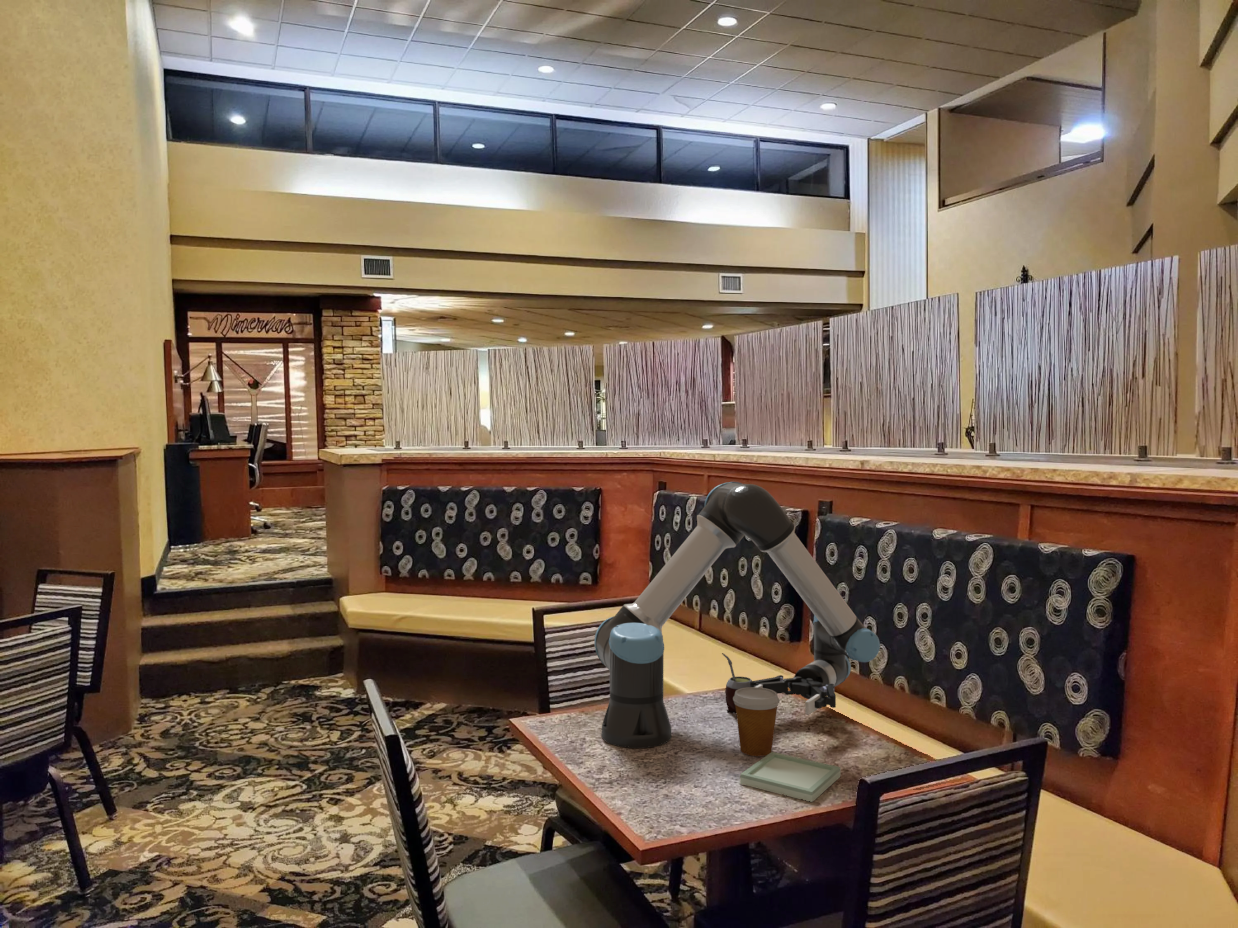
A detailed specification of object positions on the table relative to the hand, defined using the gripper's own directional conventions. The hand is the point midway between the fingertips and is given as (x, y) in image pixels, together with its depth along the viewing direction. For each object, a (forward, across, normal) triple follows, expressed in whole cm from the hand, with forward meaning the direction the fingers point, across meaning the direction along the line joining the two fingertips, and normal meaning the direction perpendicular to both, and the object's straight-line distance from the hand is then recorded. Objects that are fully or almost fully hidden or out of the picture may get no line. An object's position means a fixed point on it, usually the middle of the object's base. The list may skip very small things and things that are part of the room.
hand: (776, 702), depth 177 cm
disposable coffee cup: (+10, 0, -8) cm, 12 cm away
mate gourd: (-10, +14, -8) cm, 19 cm away
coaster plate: (+20, -12, -7) cm, 24 cm away
